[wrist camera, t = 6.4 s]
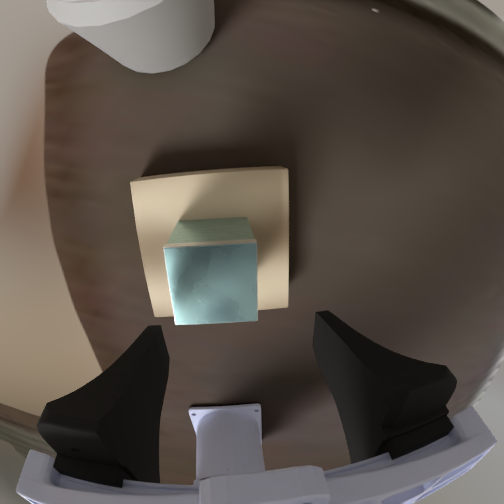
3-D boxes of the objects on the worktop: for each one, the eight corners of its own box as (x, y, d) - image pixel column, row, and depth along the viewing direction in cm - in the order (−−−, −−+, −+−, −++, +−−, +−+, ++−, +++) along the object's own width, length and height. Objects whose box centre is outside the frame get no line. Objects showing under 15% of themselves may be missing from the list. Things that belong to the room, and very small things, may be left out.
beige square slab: (280, 288, 24) (287, 307, 21) (161, 296, 23) (155, 316, 20) (279, 165, 20) (288, 169, 17) (142, 176, 19) (130, 182, 17)
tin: (249, 279, 20) (258, 320, 15) (184, 283, 20) (175, 325, 15) (247, 216, 18) (257, 242, 14) (177, 220, 18) (162, 247, 13)
